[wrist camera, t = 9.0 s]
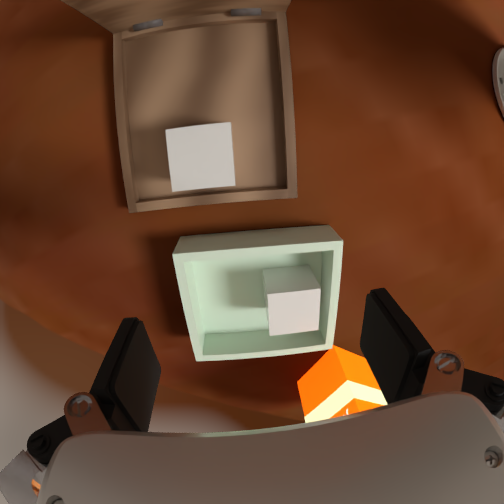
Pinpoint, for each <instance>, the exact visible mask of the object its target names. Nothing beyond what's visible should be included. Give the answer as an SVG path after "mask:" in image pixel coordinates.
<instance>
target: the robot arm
mask: <svg viewBox="0 0 504 504" xmlns="http://www.w3.org/2000/svg"><path fill="white" fill-rule="evenodd" d="M492 74H493V84H494V90H495V94H496V98H497V101H498V104H499V107H500V110H501V112H502V114H503V117H504V48H501V49H499V50H498V51H497V52H496V54H495V57H494V60H493V70H492ZM360 347H361V350H362V352H363V354H364V356H365V358H366V360H367V362H368V365H369V367H370V369H371V371H372V373H373V375H374V377H375V379H376V381H377V383H378V385H379V387H380V389H381V392H382V394H383V396H384V398H385V400H386V402H387V405H383V406H380V407H376V408H372V409H368V410H364V411H360V412H356V413H352V414H348V415H344V416H339V417H334V418H330V419H325V420H319V421H314V422H308V423H302V424H296V425H290V426H283V427H275V428H267V429H257V430H246V431H233V432H214V433H213V432H212V433H158V432H148V428H149V424H150V418H151V414H152V409H153V405H154V400H155V396H156V392H157V387H158V383H159V379H160V374H161V367H160V364H159V362H158V359H157V357H156V354H155V352H154V350H153V347H152V345H151V342H150V340H149V337H148V335H147V332H146V329H145V327H144V324H143V322H142V321H139V319H138V318H136V317H134V318H124V319H123V320H122V322H121V324H120V326H119V328H118V331H117V333H116V335H115V337H114V339H113V341H112V343H111V345H110V347H109V350H108V351H107V353H106V355H105V358H104V360H103V362H102V364H101V367H100V369H99V371H98V373H97V376H96V378H95V380H94V383H93V385H92V388H91V390H90V392H89V393H87V392H79V393H76V394H74V395H73V396H71V397H70V398H69V399H68V400H67V401H66V403H65V406H64V413H65V415H64V416H62V417H60V418H58V419H57V420H55V421H53V422H52V423H50V424H48V425H46V426H44V427H42V428H41V429H39V430H37V431H35V432H34V433H33V434H31V436H30V437H29V439H28V441H27V451H26V452H25V451H24V450H22V451H21V452H20V453H19V454H18V455H17V456H16V457H15V458H14V459H13V460H12V461H11V462H10V463H9V464H8V465H7V466H6V467H5V468H4V469H3V470H2V471H1V472H0V491H1V492H2V494H3V496H4V497H5V499H6V500H7V502H8V503H9V504H504V381H503V380H502V379H499V378H497V377H493V376H489V375H486V374H482V373H479V372H475V371H472V370H468V369H465V368H464V362H463V359H462V358H461V357H460V356H459V355H458V354H457V353H455V352H452V351H449V350H442V351H438V352H436V353H435V352H434V350H433V349H432V347H431V346H430V345H429V343H428V342H427V341H426V339H425V338H424V337H423V335H422V334H421V333H420V331H419V330H418V329H417V327H416V326H415V325H414V323H413V322H412V321H411V319H410V318H409V317H408V316H407V315H406V314H405V313H404V312H403V310H402V309H401V308H400V306H399V305H398V304H397V303H396V301H395V300H394V299H393V298H392V296H391V295H390V294H389V293H388V291H387V290H386V289H385V288H379V289H374V290H371V291H370V294H367V296H366V304H365V312H364V319H363V326H362V333H361V339H360Z"/></svg>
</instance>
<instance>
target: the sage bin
mask: <svg viewBox="0 0 504 504" xmlns="http://www.w3.org/2000/svg"><path fill="white" fill-rule="evenodd" d="M342 251H343V240H342V239H341V238H340V236H339V235H338V234H337V233H336V232H335V231H334V230H333V229H332V228H331V226H330V225H321V226H306V227H291V228H277V229H264V230H251V231H238V232H226V233H214V234H202V235H191V236H181V237H180V239H179V241H178V243H177V245H176V247H175V249H174V252H173V254H172V255H173V260H174V266H175V271H176V276H177V281H178V286H179V290H180V295H181V300H182V304H183V309H184V313H185V318H186V322H187V326H188V330H189V335H190V339H191V343H192V347H193V351H194V355H195V358H196V361H215V360H233V359H247V358H259V357H270V356H280V355H289V354H297V353H305V352H313V351H320V350H327V349H332V346H333V339H334V332H335V324H336V316H337V307H338V298H339V288H340V277H341V265H342ZM300 265H309V266H310V268H311V270H312V272H313V274H314V276H315V278H316V280H317V282H318V284H319V286H320V288H321V296H320V313H319V328H318V330H314V331H307V332H299V333H291V334H283V335H274V336H270V335H269V328H268V322H267V316H266V310H265V298H264V283H263V269H269V268H280V267H290V266H300Z"/></svg>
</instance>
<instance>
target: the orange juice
mask: <svg viewBox="0 0 504 504" xmlns="http://www.w3.org/2000/svg"><path fill="white" fill-rule="evenodd" d="M297 384H298V388H299V393H300V397H301V402H302V406H303V411H304V415H305V422H306V423H308V422H314V421H319V420H325V419H330V418H334V417H339V416H344V415H348V414H352V413H356V412H360V411H364V410H368V409H372V408H376V407H380V406H383V405H387V402H386V400H385V398H384V396H383V394H382V392H381V389H380V387H379V385H378V383H377V381H376V379H375V377H374V375H373V373H372V371H371V369H370V367H369V365H368V362H367V360H366V358H363V357H361V356H358V355H356V354H353V353H351V352H349V351H346V350H344V349H341V348H339V347H336V346H334V345H333V346H332V349H329V350H328V351H327V352H326V353H325V354H324V355H323V356H322V358H321V359H320V360H319V361H318V362H317V363H316V364H315V365H314V366H313V367H312V368H311V369H310V370H309V371H308V372H307V373H306V374H305V375H304V376H303V377H302V378H301V379H300V380H299V381H297Z"/></svg>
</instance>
